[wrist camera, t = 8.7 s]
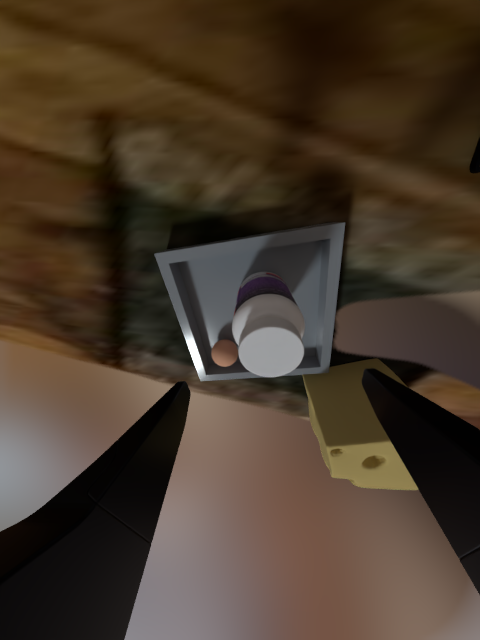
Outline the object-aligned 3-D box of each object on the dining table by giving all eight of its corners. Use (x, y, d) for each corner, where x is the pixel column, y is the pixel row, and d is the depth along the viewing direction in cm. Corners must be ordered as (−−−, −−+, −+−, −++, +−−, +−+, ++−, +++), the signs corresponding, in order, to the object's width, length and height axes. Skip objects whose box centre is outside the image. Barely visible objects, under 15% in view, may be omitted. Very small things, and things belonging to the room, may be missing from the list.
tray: (332, 221, 16) (345, 222, 14) (321, 358, 24) (328, 372, 21) (166, 249, 18) (154, 253, 16) (205, 367, 26) (200, 381, 23)
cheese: (308, 414, 30) (331, 495, 21) (298, 367, 25) (323, 446, 16) (377, 405, 28) (435, 490, 19) (381, 352, 23) (461, 434, 14)
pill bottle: (228, 286, 19) (209, 339, 11) (274, 260, 18) (295, 297, 9) (253, 325, 21) (253, 395, 13) (296, 304, 20) (330, 368, 11)
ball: (236, 333, 22) (234, 349, 19) (240, 353, 23) (239, 371, 21) (211, 335, 22) (205, 351, 19) (217, 355, 24) (212, 373, 21)
